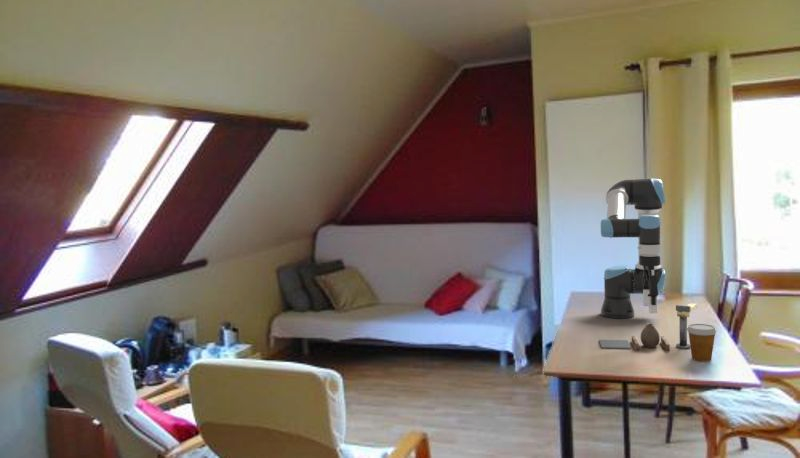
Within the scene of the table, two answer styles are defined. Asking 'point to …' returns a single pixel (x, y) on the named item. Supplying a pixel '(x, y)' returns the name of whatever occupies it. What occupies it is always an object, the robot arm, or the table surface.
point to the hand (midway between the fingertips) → (649, 309)
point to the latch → (685, 309)
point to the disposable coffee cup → (701, 341)
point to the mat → (614, 344)
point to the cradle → (663, 341)
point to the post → (683, 334)
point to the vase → (650, 336)
